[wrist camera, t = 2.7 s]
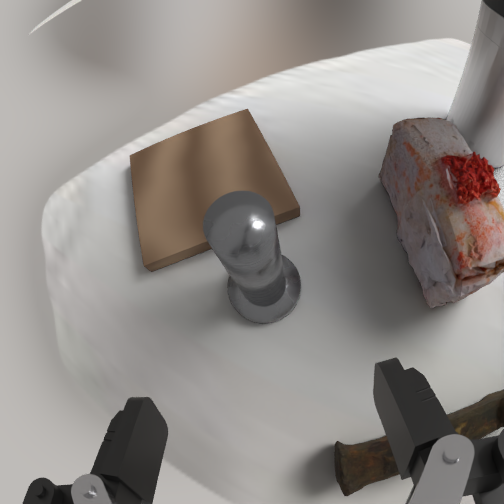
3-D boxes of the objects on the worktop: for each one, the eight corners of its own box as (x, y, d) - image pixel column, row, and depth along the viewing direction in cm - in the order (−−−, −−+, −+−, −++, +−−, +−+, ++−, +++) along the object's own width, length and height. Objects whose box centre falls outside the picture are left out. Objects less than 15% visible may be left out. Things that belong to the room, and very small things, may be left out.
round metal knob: (285, 246, 25) (273, 159, 15) (311, 308, 23) (318, 250, 13) (222, 270, 25) (172, 197, 15) (242, 333, 23) (196, 295, 13)
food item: (486, 292, 21) (553, 246, 12) (416, 321, 21) (477, 282, 12) (429, 167, 26) (459, 95, 18) (362, 180, 27) (378, 99, 18)
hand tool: (334, 484, 17) (341, 506, 13) (330, 439, 19) (337, 454, 15) (525, 412, 15) (555, 413, 11) (522, 373, 17) (554, 368, 13)
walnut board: (249, 118, 32) (247, 108, 31) (300, 215, 26) (299, 206, 25) (135, 163, 32) (129, 155, 31) (151, 271, 26) (143, 265, 25)
